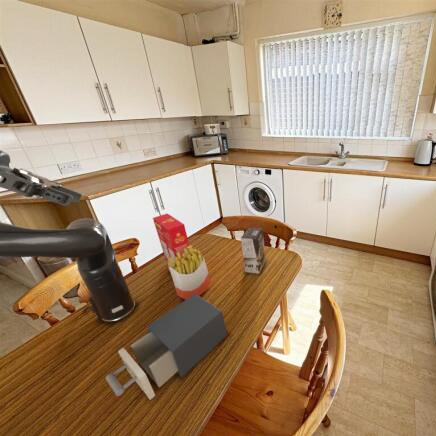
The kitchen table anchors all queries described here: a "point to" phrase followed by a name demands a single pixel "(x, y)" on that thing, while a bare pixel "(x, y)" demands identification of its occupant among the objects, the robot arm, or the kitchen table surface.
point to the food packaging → (171, 236)
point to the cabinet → (190, 331)
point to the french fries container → (189, 273)
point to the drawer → (145, 365)
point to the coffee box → (253, 250)
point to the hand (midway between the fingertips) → (75, 200)
